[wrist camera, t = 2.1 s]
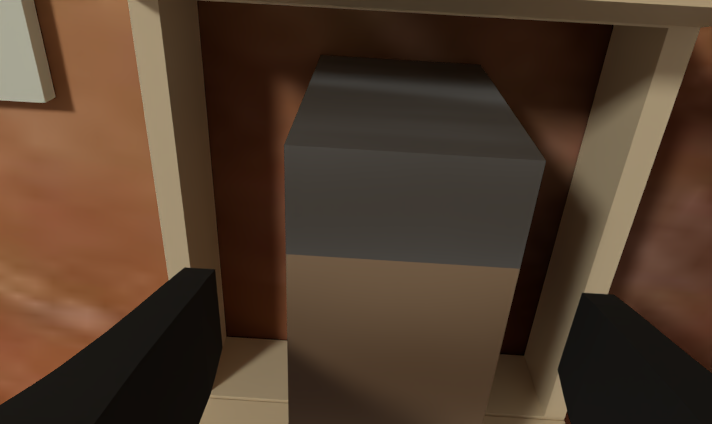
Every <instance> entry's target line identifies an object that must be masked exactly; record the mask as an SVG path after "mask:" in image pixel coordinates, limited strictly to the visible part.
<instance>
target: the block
mask: <svg viewBox="0 0 712 424" xmlns="http://www.w3.org/2000/svg"><path fill="white" fill-rule="evenodd" d="M545 163H546V160H545V159H544V157H543V156H542V154H541V153H540V151H539V150H538V148H537V147H536V145H535V144H534V142H533V141H532V140H531V138H530V137H529V135H528V134H527V132H526V131H525V129H524V128H523V126H522V125H521V123H520V122H519V120H518V119H517V117H516V116H515V115H514V113H513V112H512V110H511V109H510V107H509V106H508V104H507V103H506V101H505V100H504V98H503V97H502V95H501V94H500V93H499V91H498V90H497V88H496V87H495V85H494V84H493V82H492V81H491V79H490V78H489V76H488V75H487V73H486V72H485V70H484V69H483V68H482V66H481V65H479V64H462V63H445V62H428V61H412V60H395V59H378V58H361V57H344V56H328V55H321V56H320V58H319V61H318V63H317V66H316V68H315V71H314V73H313V76H312V78H311V80H310V83H309V85H308V88H307V90H306V93H305V95H304V98H303V100H302V103H301V105H300V107H299V110H298V112H297V115H296V117H295V120H294V122H293V125H292V127H291V130H290V132H289V134H288V137H287V139H286V142H285V144H284V166H285V229H286V292H287V355H288V418H289V424H483V420H484V416H485V411H486V407H487V403H488V399H489V395H490V391H491V387H492V382H493V378H494V374H495V370H496V366H497V362H498V358H499V354H500V349H501V345H502V341H503V337H504V333H505V329H506V325H507V320H508V316H509V312H510V308H511V304H512V300H513V296H514V292H515V287H516V283H517V279H518V275H519V271H520V267H521V263H522V258H523V254H524V250H525V246H526V242H527V238H528V234H529V230H530V225H531V221H532V217H533V213H534V209H535V205H536V201H537V196H538V192H539V188H540V184H541V180H542V176H543V172H544V168H545Z"/></svg>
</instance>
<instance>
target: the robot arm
mask: <svg viewBox="0 0 712 424" xmlns="http://www.w3.org/2000/svg"><path fill="white" fill-rule="evenodd" d="M222 348H223V346H222V335H221V325H220V314H219V304H218V293H217V283H216V273H215V269H202V268H187V267H184V268H183V269H182V270H181V271H179V272H178V273H177V274H176V275H175V276H173V277H172V278H171V279H170V280H169V281H167V282H166V283H165V284H164V285H163V286H161V287H160V288H159V289H158V290H157V291H155V292H154V293H153V294H152V295H151V296H150V297H148V298H147V299H146V300H145V301H144V302H142V303H141V304H140V305H139V306H138V307H136V308H135V309H134V310H133V311H132V312H130V313H129V314H128V315H127V316H125V317H124V318H123V319H122V320H120V321H119V322H118V323H117V324H116V325H114V326H113V327H112V328H111V329H109V330H108V331H107V332H106V333H104V334H103V335H102V336H100V337H99V338H98V339H96V340H95V341H94V342H92V343H91V344H90V345H88V346H87V347H85V348H84V349H83V350H81V351H80V352H79V353H77V354H76V355H75V356H73V357H72V358H71V359H69V360H68V361H67V362H65V363H64V364H63V365H61V366H60V367H58V368H57V369H55V370H54V371H53V372H51V373H50V374H48V375H47V376H45V377H44V378H42V379H41V380H39V381H38V382H36V383H35V384H33V385H32V386H30V387H28V388H27V389H25V390H24V391H22V392H20V393H19V394H17V395H16V396H14V397H12V398H11V399H9V400H8V401H6V402H4V403H3V404H1V405H0V424H199V423H200V420H201V418H202V415H203V413H204V410H205V407H206V405H207V402H208V400H209V397H210V394H211V391H212V387H213V383H214V380H215V376H216V372H217V368H218V364H219V360H220V356H221V352H222ZM557 370H558V374H559V379H560V383H561V387H562V392H563V396H564V400H565V404H566V408H567V412H568V416H569V419H570V422H571V424H712V373H711V372H709V371H708V370H707V369H706V368H704V367H703V366H702V365H701V364H699V363H698V362H697V361H696V360H694V359H693V358H692V357H691V356H689V355H688V354H687V353H686V352H684V351H683V350H682V349H681V348H679V347H678V346H677V345H676V344H675V343H673V342H672V341H671V340H670V339H669V338H667V337H666V336H665V335H664V334H662V333H661V332H660V331H659V330H658V329H656V328H655V327H654V326H653V325H652V324H650V323H649V322H648V321H647V320H645V319H644V318H643V317H642V316H641V315H639V314H638V313H637V312H636V311H634V310H633V309H632V308H631V307H629V306H628V305H627V304H625V303H624V302H623V301H621V300H620V299H619V298H617V297H616V296H615V295H611V294H595V293H582V294H581V297H580V300H579V304H578V307H577V310H576V313H575V316H574V319H573V322H572V325H571V328H570V332H569V335H568V338H567V341H566V344H565V347H564V350H563V353H562V356H561V360H560V363H559V366H558V369H557Z"/></svg>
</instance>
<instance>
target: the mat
mask: <svg viewBox="0 0 712 424" xmlns="http://www.w3.org/2000/svg"><path fill="white" fill-rule="evenodd" d="M53 98H55V92H54V88H53V83H52V79H51V75H50V70H49V66H48V61H47V57H46V52H45V48H44V44H43V39H42V35H41V30H40V26H39V22H38V17H37V13H36V8H35V4H34V0H0V100H3V101H20V102H37V103H46V102H48V101H50V100H52V99H53Z"/></svg>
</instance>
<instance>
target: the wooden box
mask: <svg viewBox="0 0 712 424" xmlns="http://www.w3.org/2000/svg"><path fill="white" fill-rule="evenodd" d="M201 1H218V2H235V3H252V4H269V5H286V6H303V7H320V8H337V9H354V10H371V11H388V12H405V13H422V14H439V15H456V16H473V17H490V18H507V19H524V20H541V21H558V22H575V23H592V24H609V25H614V27H613V31H612V34H611V38H610V42H609V45H608V49H607V53H606V56H605V60H604V64H603V67H602V71H601V75H600V78H599V82H598V86H597V89H596V93H595V97H594V100H593V104H592V108H591V112H590V115H589V119H588V123H587V126H586V130H585V134H584V137H583V141H582V145H581V148H580V152H579V156H578V159H577V163H576V167H575V170H574V174H573V178H572V181H571V185H570V189H569V192H568V196H567V200H566V203H565V207H564V211H563V214H562V218H561V222H560V225H559V229H558V233H557V236H556V240H555V244H554V247H553V251H552V255H551V258H550V262H549V266H548V270H547V273H546V277H545V281H544V284H543V288H542V292H541V295H540V299H539V303H538V306H537V310H536V314H535V317H534V321H533V325H532V328H531V332H530V336H529V339H528V343H527V347H526V350H525V354H524V356H522V355H506V354H499V358H498V362H497V366H496V370H495V374H494V378H493V382H492V387H491V391H490V395H489V399H488V403H487V407H486V411H485V416H484V420H483V424H565V421H564V418H565V416H566V413H567V408H566V404H565V400H564V396H563V392H562V387H561V383H560V379H559V374H558V370H557V369H558V366H559V363H560V360H561V356H562V353H563V350H564V347H565V344H566V341H567V338H568V335H569V332H570V328H571V325H572V322H573V319H574V316H575V313H576V310H577V307H578V304H579V300H580V297H581V294H582V293H595V294H608V292H609V289H610V286H611V283H612V280H613V278H614V275H615V272H616V269H617V266H618V263H619V260H620V257H621V255H622V252H623V249H624V246H625V243H626V240H627V237H628V234H629V232H630V229H631V226H632V223H633V220H634V217H635V214H636V211H637V209H638V206H639V203H640V200H641V197H642V194H643V191H644V189H645V186H646V183H647V180H648V177H649V174H650V171H651V168H652V166H653V163H654V160H655V157H656V154H657V151H658V148H659V145H660V143H661V140H662V137H663V134H664V131H665V128H666V125H667V122H668V120H669V117H670V114H671V111H672V108H673V105H674V102H675V99H676V97H677V94H678V91H679V88H680V85H681V82H682V79H683V76H684V74H685V71H686V68H687V65H688V62H689V59H690V56H691V53H692V51H693V48H694V45H695V42H696V39H697V36H698V33H699V30H700V28H701V27H708V26H712V0H201ZM128 6H129V13H130V19H131V26H132V33H133V40H134V47H135V54H136V60H137V67H138V74H139V81H140V88H141V94H142V101H143V108H144V115H145V122H146V128H147V135H148V142H149V149H150V156H151V163H152V169H153V176H154V183H155V190H156V197H157V203H158V210H159V217H160V224H161V231H162V237H163V244H164V251H165V258H166V265H167V272H168V278H169V280H170V279H171V278H172V277H173V276H175V275H176V274H177V273H178V272H179V271H181V270H182V269H183V268H184V267H187V268H202V269H215V273H216V283H217V293H218V304H219V314H220V325H221V335H222V346H223V348H222V352H221V356H220V360H219V364H218V368H217V372H216V376H215V380H214V383H213V387H212V391H211V394H210V397H209V400H208V402H207V405H206V407H205V410H204V413H203V415H202V418H201V420H200V423H199V424H289V418H288V355H287V341H286V340H270V339H254V338H239V337H227V336H226V325H225V313H224V302H223V291H222V279H221V268H220V257H219V245H218V234H217V222H216V211H215V200H214V188H213V177H212V166H211V154H210V143H209V131H208V120H207V109H206V97H205V86H204V75H203V63H202V52H201V40H200V29H199V18H198V6H197V0H128Z"/></svg>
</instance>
